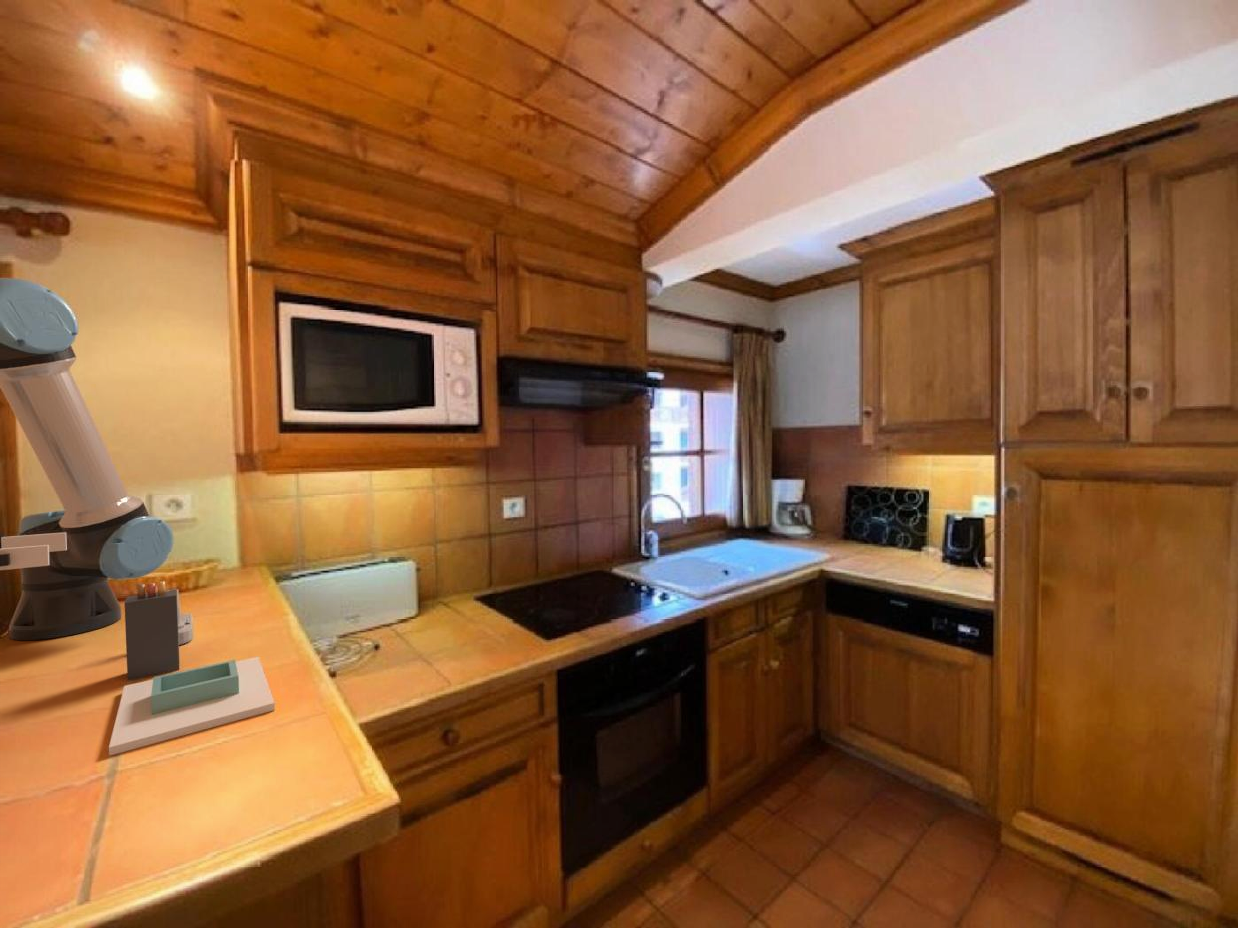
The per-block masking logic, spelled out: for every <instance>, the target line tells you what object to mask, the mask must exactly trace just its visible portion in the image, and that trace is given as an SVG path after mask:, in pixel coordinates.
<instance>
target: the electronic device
mask: <svg viewBox="0 0 1238 928" xmlns="http://www.w3.org/2000/svg"><path fill="white" fill-rule="evenodd" d="M172 590H177V607H178V633H179V646H180V645H184V644H187V643H189V642H191V641H192V640H193V638H194V617H193V614H191V613H190V614H189V613H181V606H180V595H179V594H180V593H179V589H178V588H175V589H173V588H172V589H167V590H166V591H172Z"/></svg>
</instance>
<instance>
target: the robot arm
mask: <svg viewBox="0 0 1238 928" xmlns="http://www.w3.org/2000/svg"><path fill="white" fill-rule="evenodd" d="M78 334H79V322H78V319H77V316H76V314H75V312H74V311H73V310H72V308H71V306H70V305H69V304H68V303H67V301H65V300H64V299H63V298H62V297H61V296H60V295H59V294H57V293H56V292H55V291H53V290H51V289H49V288H47V287H45V286H43V285H41V284H39V283H37V282H34V281H31V280H27V279H21V278H13V277H0V389H1V392H2V394H3V395H4V397H5V399H6V401H7V402H8V405H9V406H10V408H11V410H12V412H13V415H14V416H15V417H16V420H17V422H18V424H19V425H20V428H21V429H22V431H23V433H24V435H25V437H26V438H27V441H28V443H29V445H30V446H31V449H32V450H33V452H34V454H35V456H36V458H37V459H38V462H39V464H40V465H41V467H42V470H43V471H44V473H45V475H46V477H47V479H48V480H49V483H50V484H51V486H52V489H53V490H54V492H55V494H56V495H57V498H58V499H59V502H60V504H62V507H63V510H55V511H47V512H39V513H34V514H28V515H25V516H24V517H22V518H21V519H20V521H19V526H18V533H17V535H13V536H11V535H10V536H3V532H0V571H8V570H17V569H20V579H21V596H20V598H19V601H18V604H17V606H16V609H15V611H14V614H13V616H12V618H11V621H10V623H9V625H8V626H9V627H8V628H9V638H10V639H12V640H15V641H17V640H18V641H36V640H37V641H38V640H47V639H53V638H54V639H55V638H61V637H67V636H71V635H77V634H82V633H87V632H90V631H94V630H97V629H101V628H104V627H107V626H109V625H112V624H115V623H116V622H119V620H121V619H122V607H121V604H120V602H119V601H118V598H117V597H116V595H115V593H114V591H113V589H112V587H111V585H110V583H109V579H113V580H125V579H126V580H127V579H139V578H142V577H144V576H148V575H150V574H151V573H154V572H155V571H156V570H158V569H159V568H160V567H161V566H162V565H163V564H164V563H165V562H166V561H167V559H168V557H169V553H171V552H172V550H173V547H174V546H173V545H174V532H173V530H172V529H171V527H170V525H169V524H168V523H167V522H166V521H164V520H163V519H160V518H159V517H156V516H152V515H151V516H150V514H149V512H148V510H147V508H146V506H145V503H144V501H143V499H142V498H140V497H137V496H134V495H131V494H129V493H128V491H127V489H126V488H125V484H124V483H123V481H122V479H121V477H120V474H119V472H118V470H117V468H116V466H115V464H114V462H113V460H112V457H111V456H110V453H109V451H108V448H107V447H106V444H105V443H104V440H103V438H102V436H101V434H100V432H99V430H98V427H97V426H96V423H95V422H94V419H93V417H92V415H91V413H90V410H89V408H88V407H87V405H86V403H85V400H84V398H83V396H82V393H81V392H80V389H79V388H78V385H77V383H76V381H75V379H74V376H73V375H72V373H71V368H72V366H73V365H74V363H75V361H76V360H77V355H76V353H75V351H74V350H73V347H72V344H74V342H75V341H76V336H77V335H78Z"/></svg>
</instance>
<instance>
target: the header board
mask: <svg viewBox="0 0 1238 928" xmlns="http://www.w3.org/2000/svg"><path fill="white" fill-rule="evenodd" d="M265 674H266V673H265V672H264V669H263V666H262V662H261V659H260V657H259V656H256V657H250V658H246V659H242V660H237V661H236V660H235V659H231V660H227V661H223V662H222V661H221V662H217V663H213V664H209V665H203V666H200V667H199V666H198V667H196V668H190V669H189V668H188V669H186V670H181V671H177V672H175V671H174V672H172V673H171V672H170V673H167V674H166V673H165V674H162V675H161V674H160V675H156V676H154V677H153V678H152V679H149V680H145V681H141V682H136V683H135V682H134V683H131V684H127V685H126V684H125V685H124V686H123V689H122V695H121V697H120V702H119V705H118V710H117V713H116V718H115V722H114V725H113V726H114V727H113V729H112V733H111V736H110V737H111V738H110V742H109V746H108V756H109V757H110V756H114V755H118V754H121V753H125V752H128V751H132V750H135V749H139V748H142V747H146V746H149V745H151V746H152V745H154V744H157V743H162V742H165V741H168V740H172V739H175V738H179V737H183V736H186V735H189V734H190V735H191V734H194V733H197V732H200V731H204V730H207V729H212V728H215V727H218V726H222V725H227V724H230V723H232V722H233V723H234V722H238V721H241V720H243V719H244V720H245V719H247V718H251V717H255V716H258V715H262V714H266V713H268V712H273V711H275V709H276V707H275V706H276V705H275V700H274V698H273V695H272V692H271V689H270V688H271V687H270V686H269V683H268V679H267V677H266V675H265Z"/></svg>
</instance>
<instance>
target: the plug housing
mask: <svg viewBox="0 0 1238 928" xmlns="http://www.w3.org/2000/svg"><path fill="white" fill-rule="evenodd" d="M136 590H137V591H136V592H137V593H136V594H137V595H130V596H126V598H125V600H124V621H125V624H124V625H125V643H126V644H125V646H126V673H127V674H126V675H127V681H128V682H129V681H134V680H139V679H143V678H146V677H151V676H158V675H161V674H162V675H163V674H166V673H167V674H168V673H171V672H175V671H179V670H180V645H179V633H178V607H177V590H172V589H171V590H172V591H167V590H166V581H165V580H164V581H158V582H157V592H156V583H155V582H150V583H149V582H148V583H147V593H146V584H145V583H142V584H137V585H136Z"/></svg>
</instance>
